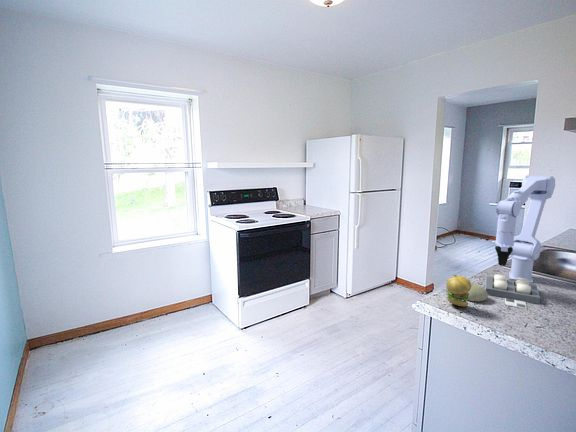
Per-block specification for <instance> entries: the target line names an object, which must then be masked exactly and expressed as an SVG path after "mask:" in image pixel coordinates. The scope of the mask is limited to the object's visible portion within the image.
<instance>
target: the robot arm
mask: <svg viewBox="0 0 576 432" xmlns="http://www.w3.org/2000/svg"><path fill="white" fill-rule="evenodd" d="M555 188H556V179H555V177H554V176H553V175H551V176H546V175H540V176H539V175H525V176H524V177H523V178H522V181H521V187H520V188H519V189H518V190H517V189H516V190H514V191H512V193H511V194H510V195H509V196H507V197H506V198H505V199H502V200H500V201H498V202H497V203H496V206H495V214H496V219H497V224H496V234H495V240H492V241H491V243H492V244H494V245H496V246H495V247H494V249H495V251H496V254H497V261H498V266H501V267H502V266H503V267H506V266H507V262H508V259H509V257H510V258H512V259H511V268H510V271H509V272H508V278H509V279H508V280H514V281H516V278H525V279H528V280H530V282H529V283H532V284H534V279H533V267H534V261H536V260H537V259H539V257H540V255H541V248H542V244H541V242H540V241H539V240H538V239H537V238H536V233H537V231H538V228H539V225H540V221H541V217H542V214H543V211H544V208H545V204H546V202H547V200H548V199H551V198H552V196H553V194H554V191H555ZM529 199H530V201H529V205H528V209H527V211H526V212H527V213H526V215H525V218H524V221H523V225H522V228H521V231H520V233H519V234H518V235H516V236H515V232H516V223H517V216H519V215H520V213H521V210H522V209H523V206H524V204H525V203H526V202H527V201H528V200H529Z"/></svg>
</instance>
